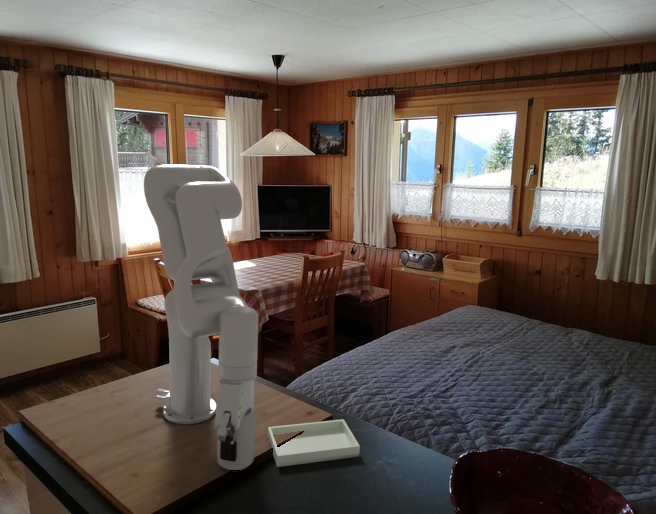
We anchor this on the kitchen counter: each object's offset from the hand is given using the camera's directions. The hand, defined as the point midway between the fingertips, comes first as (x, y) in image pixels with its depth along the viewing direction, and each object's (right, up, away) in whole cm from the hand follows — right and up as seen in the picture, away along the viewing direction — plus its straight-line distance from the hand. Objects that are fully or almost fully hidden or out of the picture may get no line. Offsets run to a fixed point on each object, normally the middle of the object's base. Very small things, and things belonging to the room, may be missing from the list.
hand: (236, 447), depth 105 cm
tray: (+15, -3, +8) cm, 18 cm away
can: (0, -4, +1) cm, 4 cm away
